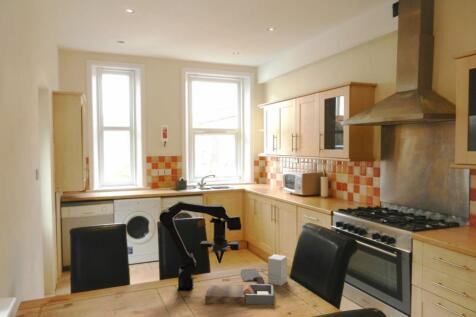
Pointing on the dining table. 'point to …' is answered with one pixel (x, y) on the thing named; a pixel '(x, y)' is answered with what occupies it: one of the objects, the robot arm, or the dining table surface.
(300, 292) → the dining table surface
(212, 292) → the tan board
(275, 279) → the supplement box
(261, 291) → the cream tile
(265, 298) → the box
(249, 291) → the terracotta tile
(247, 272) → the cleaver
